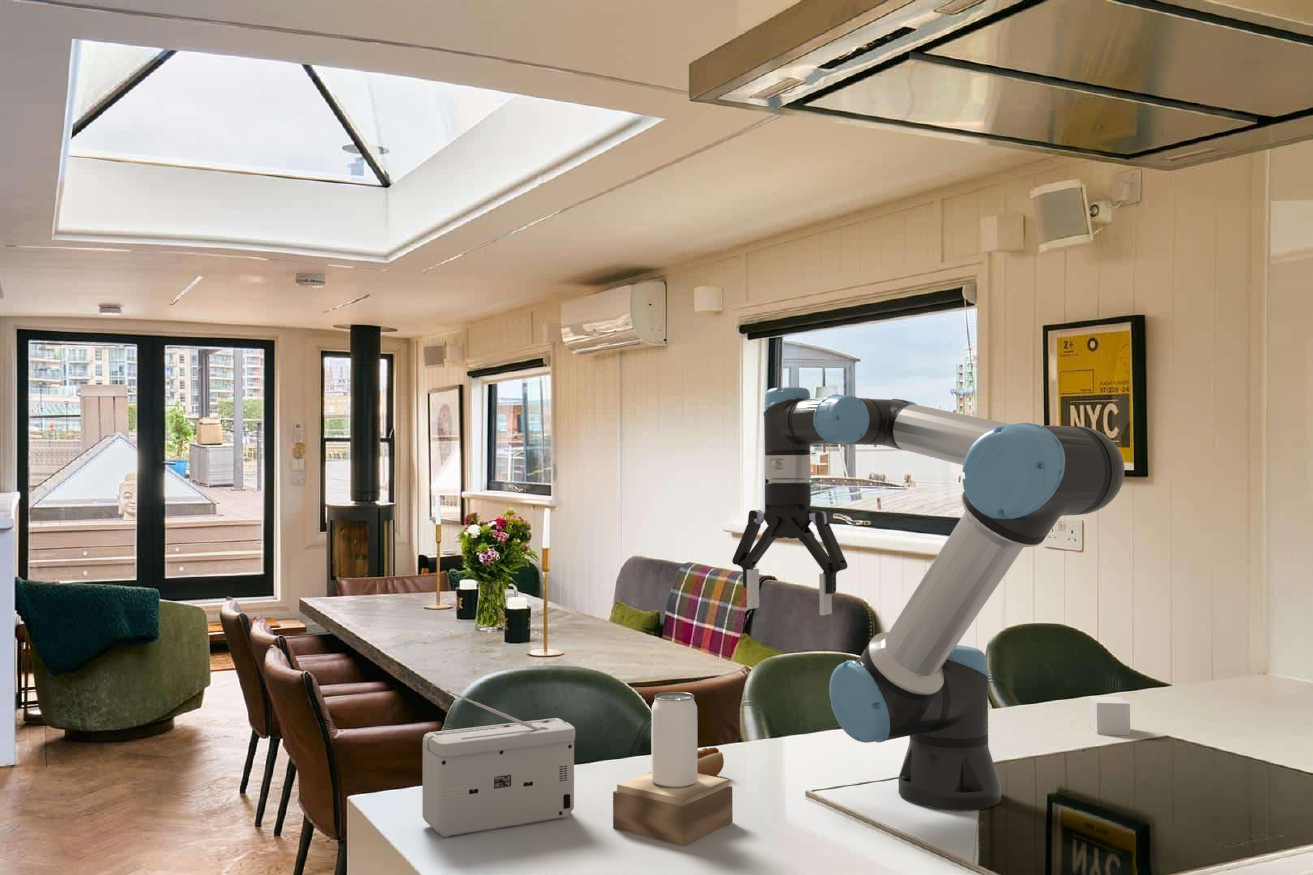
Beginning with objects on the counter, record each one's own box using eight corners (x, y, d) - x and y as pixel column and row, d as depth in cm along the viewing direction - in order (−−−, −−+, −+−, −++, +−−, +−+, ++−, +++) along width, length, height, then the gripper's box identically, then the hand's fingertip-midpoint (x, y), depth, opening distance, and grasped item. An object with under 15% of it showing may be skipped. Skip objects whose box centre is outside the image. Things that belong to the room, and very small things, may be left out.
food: (679, 797, 162) (679, 764, 162) (651, 791, 165) (650, 758, 165) (730, 777, 173) (730, 746, 173) (703, 771, 176) (703, 741, 176)
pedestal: (732, 822, 150) (732, 779, 150) (683, 845, 140) (683, 800, 141) (664, 806, 157) (664, 765, 157) (613, 828, 148) (613, 784, 148)
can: (693, 790, 145) (692, 701, 145) (646, 787, 146) (646, 699, 147) (701, 776, 151) (701, 692, 152) (656, 774, 153) (656, 690, 153)
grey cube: (1097, 734, 200) (1096, 702, 201) (1088, 727, 206) (1087, 696, 207) (1130, 735, 200) (1129, 703, 200) (1120, 727, 206) (1119, 696, 206)
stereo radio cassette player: (558, 803, 159) (559, 669, 160) (580, 819, 151) (580, 678, 152) (420, 825, 149) (421, 682, 150) (436, 843, 142) (437, 692, 143)
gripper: (712, 481, 179) (712, 607, 178) (846, 481, 164) (847, 619, 163) (735, 481, 185) (736, 603, 184) (867, 481, 170) (868, 614, 169)
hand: (788, 611), depth 174 cm, fingers open, 13 cm apart
